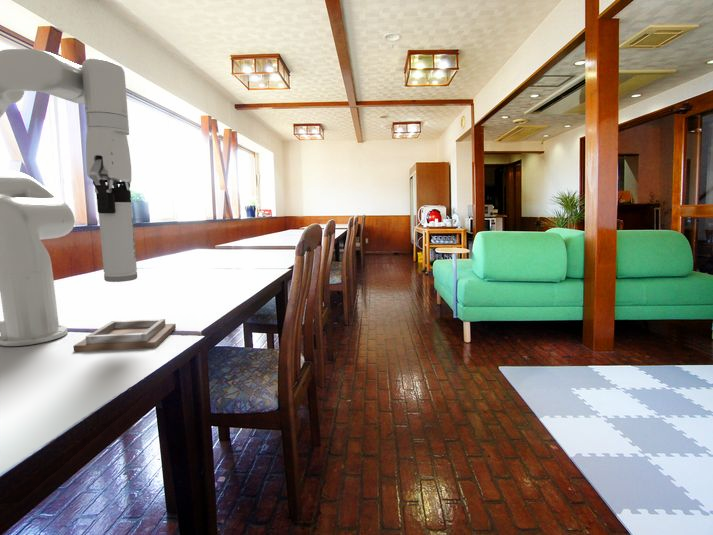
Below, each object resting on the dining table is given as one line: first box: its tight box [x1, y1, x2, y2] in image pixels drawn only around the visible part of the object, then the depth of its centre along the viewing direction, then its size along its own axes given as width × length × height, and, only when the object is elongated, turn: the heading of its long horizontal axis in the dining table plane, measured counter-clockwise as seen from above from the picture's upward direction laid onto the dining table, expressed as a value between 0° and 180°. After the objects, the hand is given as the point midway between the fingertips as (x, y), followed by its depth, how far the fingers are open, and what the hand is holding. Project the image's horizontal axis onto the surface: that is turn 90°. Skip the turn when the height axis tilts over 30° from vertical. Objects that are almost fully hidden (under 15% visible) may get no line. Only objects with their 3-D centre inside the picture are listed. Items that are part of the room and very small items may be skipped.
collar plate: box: [73, 318, 176, 352], centre depth 92 cm, size 16×14×3 cm
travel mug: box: [98, 187, 138, 283], centre depth 88 cm, size 6×7×20 cm
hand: (115, 212), depth 87 cm, fingers closed on travel mug, 6 cm apart
